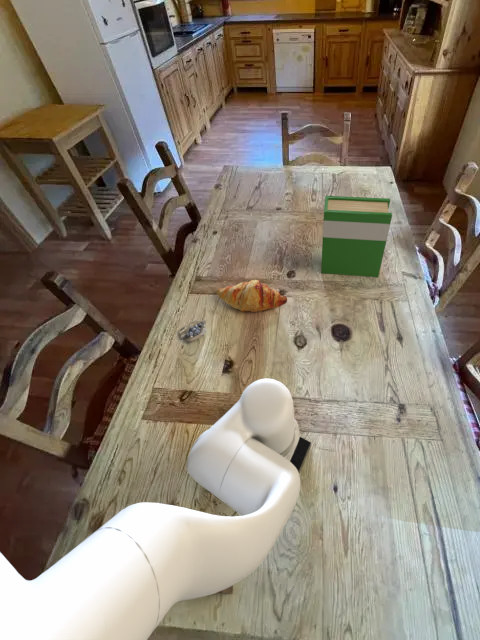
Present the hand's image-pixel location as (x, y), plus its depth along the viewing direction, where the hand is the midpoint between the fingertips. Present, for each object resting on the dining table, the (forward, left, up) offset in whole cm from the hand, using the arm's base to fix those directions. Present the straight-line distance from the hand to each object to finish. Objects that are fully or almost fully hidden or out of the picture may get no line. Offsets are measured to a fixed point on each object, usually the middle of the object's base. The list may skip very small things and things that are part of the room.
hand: (277, 466), depth 66 cm
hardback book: (+60, +7, -4) cm, 60 cm away
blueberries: (+19, +37, -4) cm, 41 cm away
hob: (0, +5, -3) cm, 6 cm away
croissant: (+35, +28, -4) cm, 45 cm away
